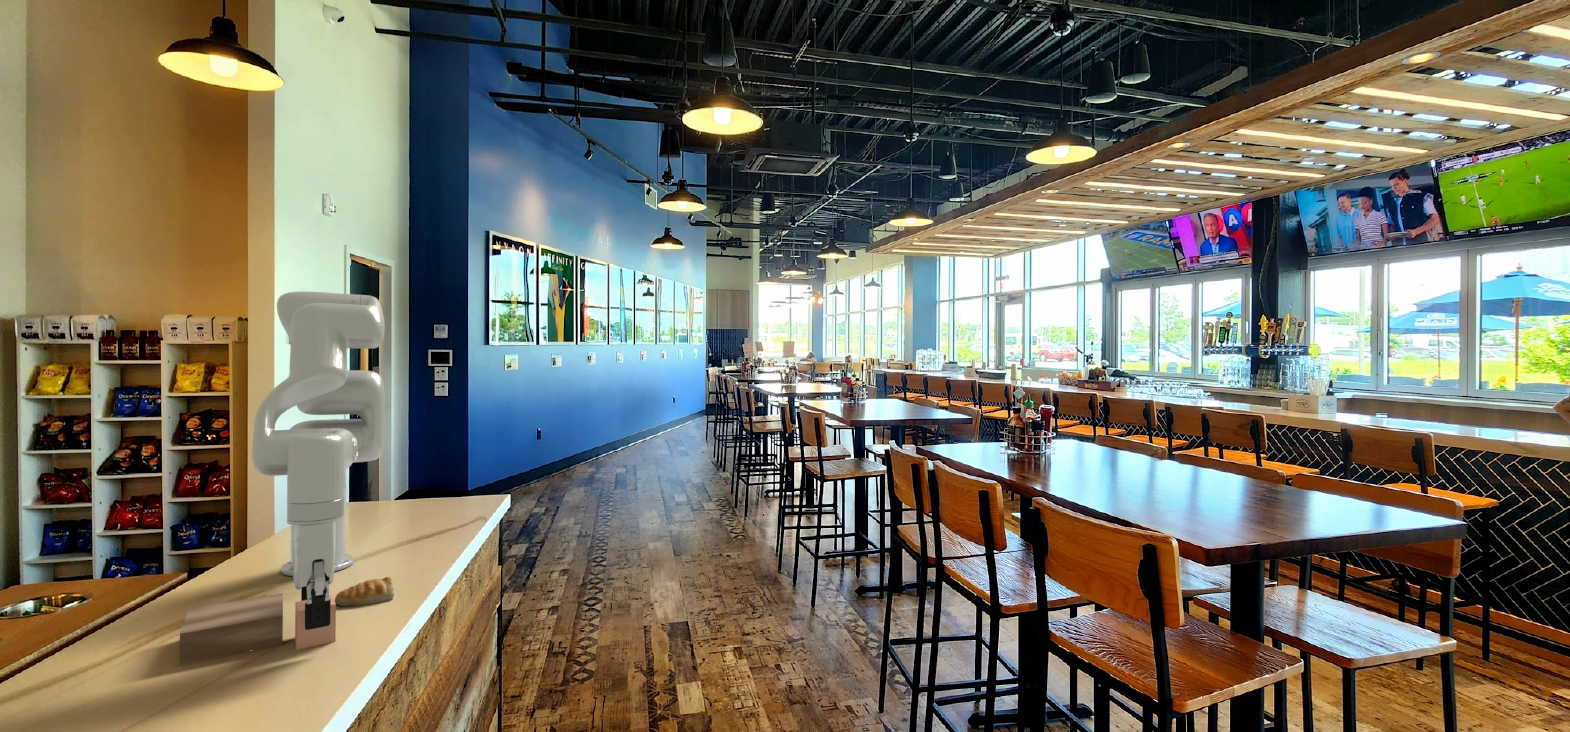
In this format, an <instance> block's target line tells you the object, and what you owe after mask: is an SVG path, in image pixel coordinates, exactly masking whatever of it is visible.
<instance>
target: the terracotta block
mask: <svg viewBox="0 0 1570 732" xmlns="http://www.w3.org/2000/svg"><path fill="white" fill-rule="evenodd" d="M329 599H331V609H330V625H329V626H325V627H320V628H315V629H310V630H306V629H305V603H307V600H303V601H301V600H298V601H295V604H294V605H295V610H294V611H295V612H294V614H295V615H294V617H295V619H294V620H295V623H294V624H295V625H294V628H295V629H294V639H295V649H296V650H301V649H306V648H307V649H308V648H311V647H315V646H321V645H325V644H326V645H327V644H329V643H333V642H334V643H335V642H336V641H337V640H336V637H337V636H336V633H337V632H336V626H337V625H336V624H337V622H336V621H337V619H336V617H337V613H336V611H337V609H336V608H337V604H336V603H335V596H334V595H329Z"/></svg>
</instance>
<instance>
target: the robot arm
mask: <svg viewBox="0 0 1570 732" xmlns="http://www.w3.org/2000/svg"><path fill="white" fill-rule="evenodd" d="M276 310H277V315H278V319H279V321H280V323H281V325H282V327H283V330H284V331H285V332H286V334H287V337H288V338H289V340H290V343H289V344H290V350H289V354H290V355H289V374H288V377H286V379H284V380H283V381H282V382H280V383H279V384H277V385H276V386H275V387H274V388H273V389H272V390H271V391H269V393H268V394H267V395H266V396H265V397H264V398H263V400H262V401H261V403H260V405H259V406H258V408H257V411H256V413H255V416H254V423H253V438H252V449H251V455H252V457H251V458H252V463H253V464H252V465H253V466H254V469H255V470H256V471H257V472H258V473H260V474H261V475H264V476H267V477H268V476H269V477H278V476H279V477H280V476H286V477H287V478H286V480H287V481H286V483H287V484H286V486H287V487H286V488H287V489H286V524H287V525H290V560H289V561H288V562H285V563H284V564H282V566H281V571H280V572H281V574H283V575H286V576H291V577H292V578H293V586H294V589H296V590H297V591H298V590H300V591H301V594H300V595H301V596H300V597H301V599H300V601H303V600H307V603H305V629H306V630H310V629H315V628H320V627H325V626H329V625H330V609H331V599H329V596H330V587H329V586H330V585H331V584H332V583H333V582H334V576H335V575H334V574H335V572H337V571H340V570H344V569H346V568H348V567H350V566H351V565H353V563H354V557H353V555H351V554H349V553H348V554H347V553H346V493H347V492H346V483H345V479H346V476H345V472H346V470H347V469H349V468H350V467H351V466H352V464H353V463H364V462H372V461H376V460H378V459H379V458H381V456H382V454H383V452H384V447H385V435H386V434H385V432H386V431H385V427H386V426H385V424H386V423H385V421H386V420H385V417H386V415H385V414H386V413H385V412H386V411H385V410H386V409H385V408H386V395H385V393H386V391H385V384H384V380H383V378H382V376H381V375H380V374H379V373H377V372H375V371H373V370H366V369H365V370H361V369H360V370H358V369H357V370H354V369H353V370H349V369H348V358H347V357H348V356H347V352H348V349H366V350H367V349H377V348H379V347H380V346H381V344H382V343H383V341H384V337H385V332H386V330H385V329H386V328H385V316H384V311H383V308H382V305H381V303H380V300H379V299H378V298H377V297H375V296H372V295H368V294H367V295H366V294H353V293H339V292H338V293H337V292H326V291H325V292H323V291H291V292H286V293H283V294H282V295H280V296H279V297H278V298H277V302H276ZM294 407H297V409H298V410H299V411H300V412H301V413H303V414H304V415H305V414H306V415H312V416H334V415H335V416H336V415H342V416H344V415H357V416H359V417H360V418H350V419H349V418H347V419H345V418H344V419H343V418H342V419H337V418H334V419H333V418H332V419H312V420H311V419H310V420H305V421H301V422H298V423H295V424H294V425H292V426H291V427H290V428H289V429H279V430H277V429H276V430H275V428H276V423H277V420H278V419H279V418H280V417H281V416H282V415H283V414H284V413H286V411H288V410H290V409H291V408H294Z"/></svg>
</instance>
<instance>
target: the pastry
mask: <svg viewBox="0 0 1570 732" xmlns="http://www.w3.org/2000/svg"><path fill="white" fill-rule="evenodd" d="M393 597H395V588H394V585H393V579H392V577H391V576H386V577H383V578H373V579H368V580H365V581H363V582H359V583H358V584H356V585H351V586H349V587H348V588H347V589H346V588H344V589H343V590H342V591H339V592H338V593H337V594H336V596H334V600H335V603H336V605H338V606H342V607H351V606H353V607H354V606H355V607H356V606H365V605H370V604H371V603H372V604H375V603H376V604H377V603H378V604H379V603H382V602H387V601H391V600H393V599H394V598H393ZM390 599H391V600H390ZM372 604H371V605H372Z"/></svg>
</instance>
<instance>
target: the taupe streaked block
mask: <svg viewBox="0 0 1570 732" xmlns="http://www.w3.org/2000/svg"><path fill="white" fill-rule="evenodd" d="M283 595H284V594H283V593H276V594H270V595H264V596H258V597H257V596H256V597H252V598H245V599H239V600H231V601H226V602H221V603H214V604H208V605H202V606H196V607H195V606H194V607H188V611H187V613H186V615H185V618H184V622H183V624H182V627H181V629H180V632H179V666H185V665H189V664H194V663H198V662H204V661H208V660H213V659H218V658H225V657H228V656H234V655H233V654H235V655H239V654H243V653H242V652H245V653H247V652H246V651H250V650H255V651H259V650H264V649H268V648H274V647H279V646H283V643H284V641H283V637H284V636H283V635H284V631H283V630H284V629H283V628H284V623H283V622H284V619H283V617H284V615H283V614H284V612H283V611H284V610H283V609H284V596H283ZM250 652H251V651H250Z"/></svg>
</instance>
